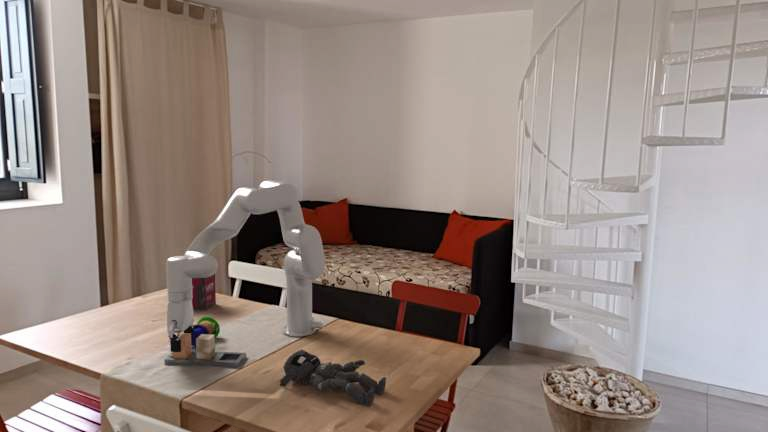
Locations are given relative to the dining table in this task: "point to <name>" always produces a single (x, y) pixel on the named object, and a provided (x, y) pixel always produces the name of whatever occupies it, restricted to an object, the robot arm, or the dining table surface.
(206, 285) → the box
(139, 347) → the dining table surface
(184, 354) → the terracotta block
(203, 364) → the rail
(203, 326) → the toy
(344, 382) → the robot
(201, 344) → the beech block
